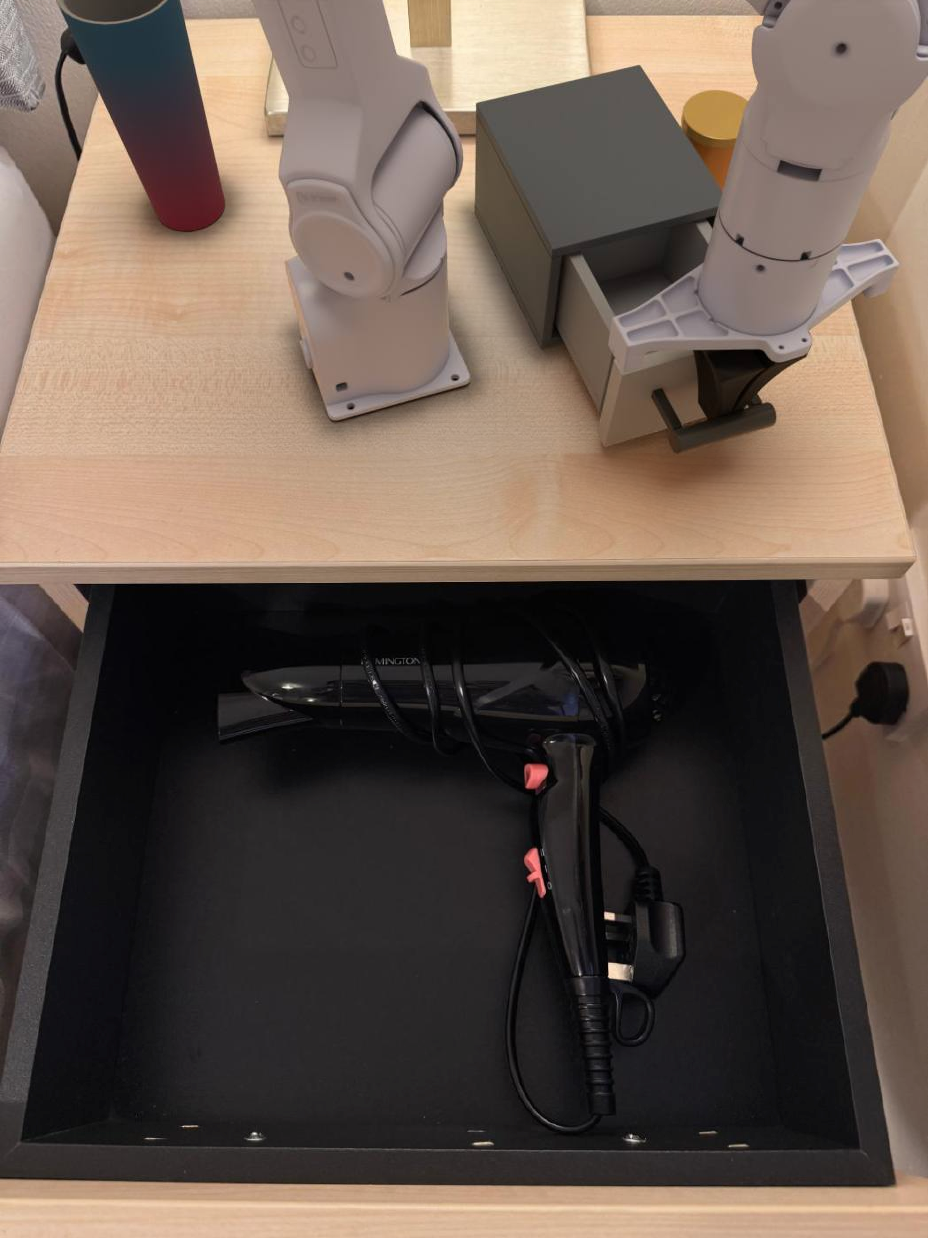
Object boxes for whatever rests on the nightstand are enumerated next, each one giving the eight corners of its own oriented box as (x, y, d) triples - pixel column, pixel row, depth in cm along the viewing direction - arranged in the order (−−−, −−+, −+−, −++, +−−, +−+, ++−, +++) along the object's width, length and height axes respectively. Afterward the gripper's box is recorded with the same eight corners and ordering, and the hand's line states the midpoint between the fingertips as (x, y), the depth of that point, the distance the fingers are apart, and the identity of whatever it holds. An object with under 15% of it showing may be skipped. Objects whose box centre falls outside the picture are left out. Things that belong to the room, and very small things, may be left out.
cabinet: (697, 306, 60) (731, 202, 52) (541, 349, 58) (552, 249, 51) (619, 175, 65) (640, 63, 57) (474, 211, 64) (475, 101, 56)
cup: (220, 246, 62) (151, 30, 48) (129, 232, 63) (35, 15, 49) (249, 180, 65) (191, -43, 51) (161, 167, 65) (81, -57, 52)
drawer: (784, 455, 54) (825, 384, 48) (631, 502, 52) (653, 435, 46) (671, 264, 60) (694, 180, 54) (532, 302, 59) (540, 219, 53)
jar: (683, 214, 63) (702, 145, 58) (655, 168, 65) (670, 98, 60) (746, 198, 64) (769, 129, 59) (716, 153, 66) (736, 82, 61)
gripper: (671, 324, 36) (628, 502, 49) (979, 231, 38) (862, 426, 50) (604, 211, 39) (580, 406, 52) (893, 130, 41) (803, 338, 53)
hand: (715, 410), depth 51 cm, fingers closed, pressing on drawer
